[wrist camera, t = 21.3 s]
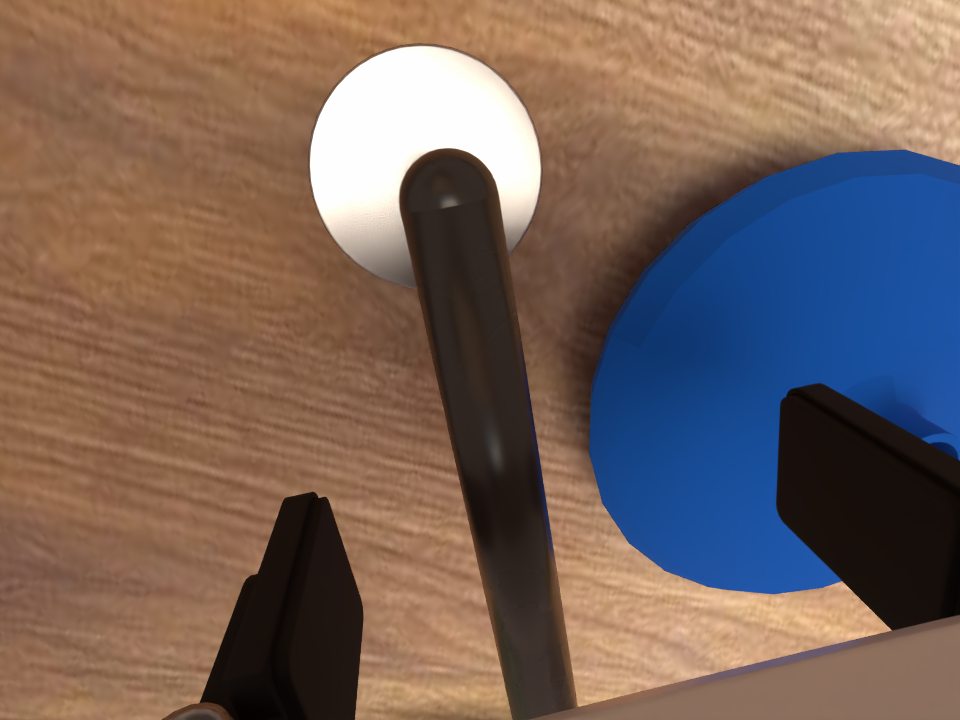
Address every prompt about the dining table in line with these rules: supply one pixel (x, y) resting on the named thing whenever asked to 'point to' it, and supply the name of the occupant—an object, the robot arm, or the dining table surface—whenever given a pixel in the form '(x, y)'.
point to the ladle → (459, 306)
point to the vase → (775, 355)
